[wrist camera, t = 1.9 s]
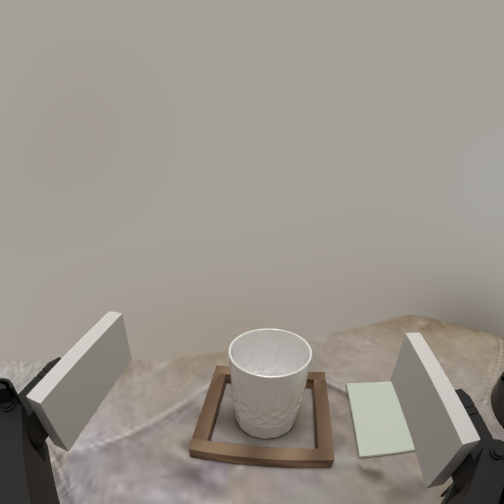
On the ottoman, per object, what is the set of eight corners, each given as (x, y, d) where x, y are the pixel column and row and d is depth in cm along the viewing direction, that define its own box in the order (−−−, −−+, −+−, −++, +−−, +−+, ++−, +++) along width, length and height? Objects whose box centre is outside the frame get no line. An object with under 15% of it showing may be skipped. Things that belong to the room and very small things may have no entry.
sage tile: (425, 380, 34) (426, 378, 34) (453, 443, 23) (455, 440, 23) (345, 385, 35) (346, 383, 35) (358, 458, 24) (359, 456, 24)
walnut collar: (322, 380, 36) (324, 372, 36) (331, 467, 23) (334, 459, 23) (217, 373, 38) (216, 365, 37) (190, 456, 25) (188, 449, 24)
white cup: (282, 453, 25) (292, 388, 22) (217, 425, 29) (211, 358, 26) (310, 406, 32) (323, 340, 29) (252, 386, 36) (254, 321, 33)
